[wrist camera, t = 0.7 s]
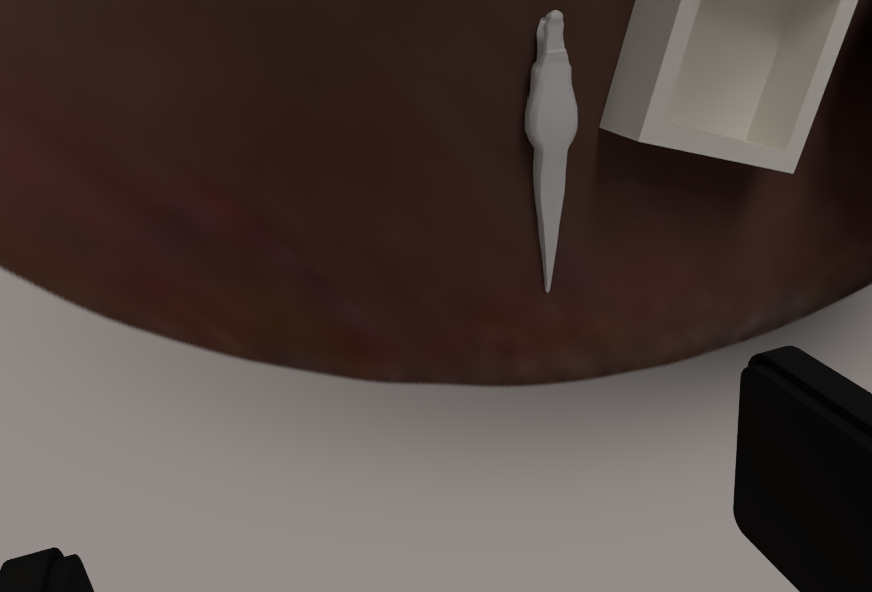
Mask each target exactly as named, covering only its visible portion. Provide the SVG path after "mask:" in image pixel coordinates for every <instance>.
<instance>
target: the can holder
mask: <svg viewBox="0 0 872 592" xmlns="http://www.w3.org/2000/svg"><path fill="white" fill-rule="evenodd" d="M857 2H858V0H635V3H634V7H633V10H632V14H631V17H630V21H629V24H628V28H627V31H626V35H625V38H624V42H623V45H622V49H621V52H620V56H619V59H618V63H617V66H616V70H615V73H614V77H613V80H612V84H611V87H610V91H609V94H608V98H607V101H606V105H605V108H604V111H603V115H602V118H601V122H600V125H599V128H602V129H605V130H608V131H610V132H613V133H616V134H619V135H621V136H624V137H627V138H630V139H633V140H635V141H638V142H643V143H648V144H652V145H657V146H662V147H667V148H672V149H677V150H681V151H686V152H691V153H696V154H701V155H706V156H710V157H715V158H720V159H725V160H730V161H735V162H739V163H744V164H749V165H754V166H759V167H763V168H768V169H773V170H778V171H783V172H788V173H792V174H794V171H795V168H796V166H797V163H798V160H799V158H800V155H801V152H802V150H803V147H804V144H805V142H806V139H807V136H808V134H809V131H810V128H811V125H812V123H813V120H814V117H815V115H816V112H817V109H818V107H819V104H820V101H821V99H822V96H823V93H824V91H825V88H826V85H827V83H828V80H829V77H830V74H831V72H832V69H833V66H834V64H835V61H836V58H837V56H838V53H839V50H840V48H841V45H842V42H843V40H844V37H845V34H846V32H847V29H848V26H849V24H850V21H851V18H852V15H853V13H854V10H855V7H856V5H857Z"/></svg>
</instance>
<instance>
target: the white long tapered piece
mask: <svg viewBox="0 0 872 592" xmlns="http://www.w3.org/2000/svg"><path fill="white" fill-rule="evenodd" d="M542 19H546V20H542ZM563 27H564V23H563V14H562V13H561V12H559V11H558V10H554V11H551V12H550V13H548V14H547V15H546V18H541V20H540V24H539V26H538V28H537V33H536V36H537V61H536V62H535V63H534V64H533V66H532V69H531V86H530V94H529V95H528V97H529V99H528V97H527V106H526V110H525V132H526V134H527V137H528V139H529V141H530V143H531V144H532V146H533V147H534V161H533V181H534V195H535V204H536V211H537V218H538V232H539V241H540V247H541V253H542V263H543V272H544V285H545V290H546V292H547V293H548V292H549V290H550V286H551V280H552V273H553V267H554V260H555V254H556V247H557V240H558V231H559V223H560V217H561V211H562V204H563V198H564V192H565V177H566V163H567V151H568V148H569V146H570V144H571V143H572V141H573V139H574V137H575V134H576V132H577V127H578V116H577V109H578V107H577V104H576V100H575V96H574V92H573V87H572V81H571V66H570V64H569V61H568V55H567V51H566V50H565V48H564V41H563Z"/></svg>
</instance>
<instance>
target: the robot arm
mask: <svg viewBox="0 0 872 592" xmlns="http://www.w3.org/2000/svg"><path fill="white" fill-rule="evenodd" d="M733 510H734V517H735V520H736V523H737V525H738V527H739V529H740V530H741V532H742V533H743V534H744V535H745V536H746V537H747V538H748V539H749V540H750V541H751V543H753V545H754V546H756V548H757V549H758V550H759V551H760V552H761V553H762V554H763V555H764V556H765V557H766V558H767V559H768V560H769V561H770V562H771V563H772V564H773V565H774V566H775V567H776V568H777V569H778V570H779V571H780V572H781V573H782V574H783V575H784V576H785V577H786V578H787V579H788V580H789V581H790V582H791V583H792V584H793V585H794V586H795V587H796V588H797V589H798V590H799V591H800V592H872V394H871V393H870V392H868V391H867V390H865V389H863V388H862V387H860V386H858V385H857V384H855V383H854V382H852V381H850V380H849V379H847V378H846V377H844V376H842V375H841V374H839V373H838V372H836V371H834V370H832V369H831V368H829V367H828V366H826V365H825V364H823V363H821V362H820V361H818V360H817V359H815V358H813V357H812V356H810V355H808V354H807V353H805V352H804V351H802V350H800V349H799V348H796V347H794V346H785V347H781V348H777V349H774V350H770V351H767V352H763V353H759V354H756V355H754V356H753V357H752V358H751V359H750V361H749V363H748V367H746V368H745V369H744V370H743V371H742V373H741V380H740V399H739V416H738V435H737V451H736V469H735V487H734V505H733ZM0 592H94V590H93V588H92V585H91V583H90V580H89V578H88V576H87V573H86V571H85V568H84V566H83V563H82V561H81V559H80V558H79V556H78V555H76V554H74V555H70V556H66V557H64V556H63V554H62V552H61V551H60V550H59V549H58V548H50V549H47V550H43V551H39V552H35V553H32V554H28V555H25V556H21V557H17V558H14V559H10V560H7V561H6V562H4V563H3V565H2V567H1V570H0Z"/></svg>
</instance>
